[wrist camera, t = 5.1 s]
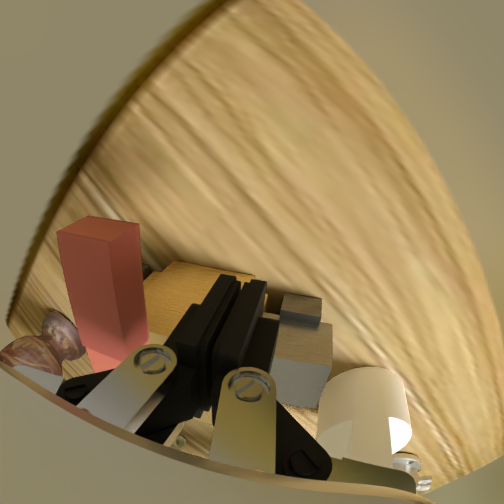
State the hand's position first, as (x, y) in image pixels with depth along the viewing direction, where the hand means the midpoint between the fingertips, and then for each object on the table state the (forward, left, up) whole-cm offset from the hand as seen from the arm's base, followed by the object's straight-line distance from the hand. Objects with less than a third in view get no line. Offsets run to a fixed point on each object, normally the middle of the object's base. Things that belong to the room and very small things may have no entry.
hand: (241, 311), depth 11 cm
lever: (+5, +4, +1) cm, 6 cm away
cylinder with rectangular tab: (-11, +17, -12) cm, 24 cm away
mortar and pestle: (+25, +21, -12) cm, 35 cm away
